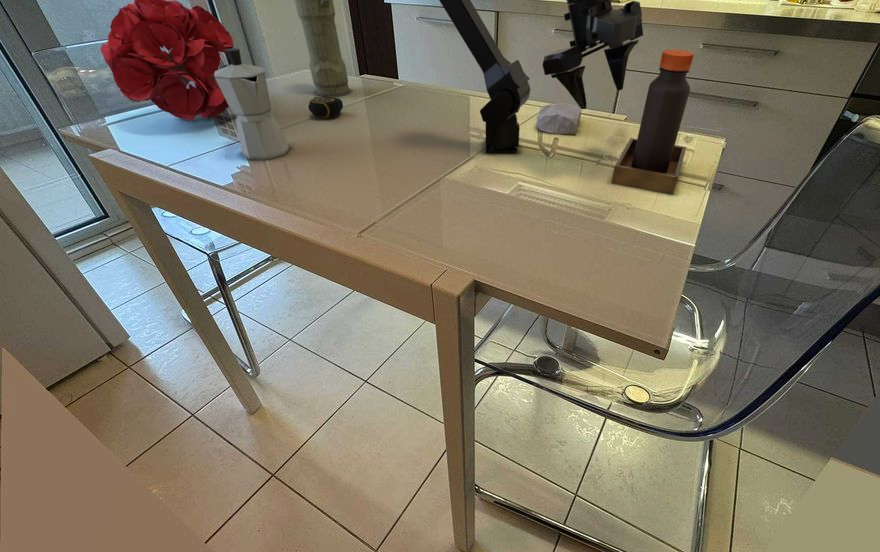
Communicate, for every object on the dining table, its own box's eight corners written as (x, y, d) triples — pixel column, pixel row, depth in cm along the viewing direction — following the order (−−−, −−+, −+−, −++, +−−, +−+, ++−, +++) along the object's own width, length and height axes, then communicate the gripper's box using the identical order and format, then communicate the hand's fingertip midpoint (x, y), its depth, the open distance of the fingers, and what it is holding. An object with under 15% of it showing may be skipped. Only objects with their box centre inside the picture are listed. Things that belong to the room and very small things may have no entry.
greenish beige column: (334, 100, 115) (296, -81, 92) (305, 91, 120) (262, -82, 97) (360, 92, 120) (330, -80, 97) (332, 84, 125) (297, -81, 102)
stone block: (535, 139, 101) (579, 134, 98) (533, 117, 98) (578, 112, 96) (542, 124, 110) (583, 119, 107) (540, 104, 107) (582, 98, 105)
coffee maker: (302, 154, 88) (273, 51, 76) (259, 167, 83) (220, 58, 71) (267, 134, 95) (236, 38, 84) (225, 145, 91) (186, 44, 79)
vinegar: (642, 161, 88) (670, 46, 75) (673, 171, 85) (707, 53, 72) (623, 170, 85) (648, 51, 72) (654, 182, 81) (687, 59, 68)
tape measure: (345, 112, 108) (342, 95, 106) (336, 121, 103) (332, 104, 100) (318, 110, 108) (314, 94, 106) (307, 120, 103) (303, 102, 101)
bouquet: (200, 126, 117) (76, 92, 88) (205, 28, 112) (75, -41, 83) (273, 141, 114) (169, 111, 85) (282, 42, 109) (174, -26, 80)
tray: (611, 182, 81) (614, 165, 79) (627, 153, 92) (630, 137, 90) (673, 194, 78) (678, 177, 76) (681, 162, 89) (686, 146, 87)
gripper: (575, 5, 63) (596, 117, 71) (663, -32, 69) (673, 76, 77) (529, 20, 71) (553, 119, 80) (611, -13, 77) (625, 82, 86)
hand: (602, 99), depth 80 cm, fingers open, 9 cm apart
